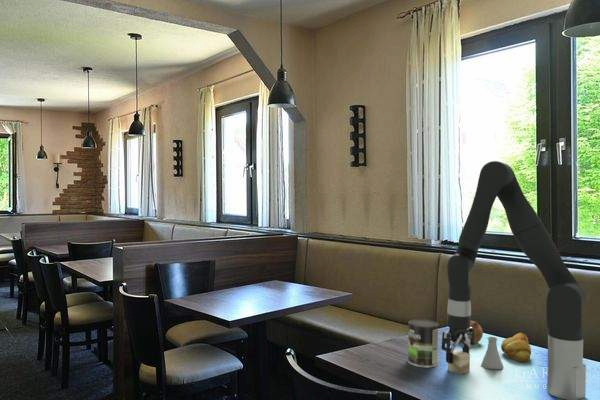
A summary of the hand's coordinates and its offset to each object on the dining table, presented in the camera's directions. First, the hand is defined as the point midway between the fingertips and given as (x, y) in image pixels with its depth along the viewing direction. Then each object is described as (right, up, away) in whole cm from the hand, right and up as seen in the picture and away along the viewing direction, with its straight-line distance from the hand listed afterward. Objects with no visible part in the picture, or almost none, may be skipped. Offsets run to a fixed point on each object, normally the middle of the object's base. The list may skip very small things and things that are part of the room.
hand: (457, 360), depth 165 cm
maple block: (0, -3, 0) cm, 3 cm away
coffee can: (-10, -3, +7) cm, 13 cm away
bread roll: (+26, -4, +14) cm, 29 cm away
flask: (+13, -4, +4) cm, 14 cm away
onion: (+15, -3, +31) cm, 34 cm away
